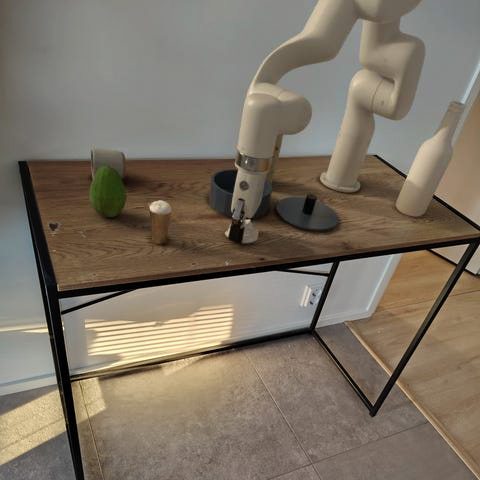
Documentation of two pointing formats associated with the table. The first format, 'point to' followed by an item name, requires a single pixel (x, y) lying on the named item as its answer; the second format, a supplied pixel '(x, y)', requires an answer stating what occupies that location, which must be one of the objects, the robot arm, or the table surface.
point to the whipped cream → (247, 232)
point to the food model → (274, 158)
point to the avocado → (107, 192)
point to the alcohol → (430, 165)
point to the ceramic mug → (108, 160)
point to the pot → (224, 190)
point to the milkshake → (159, 220)
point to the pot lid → (307, 213)
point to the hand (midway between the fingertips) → (240, 232)
